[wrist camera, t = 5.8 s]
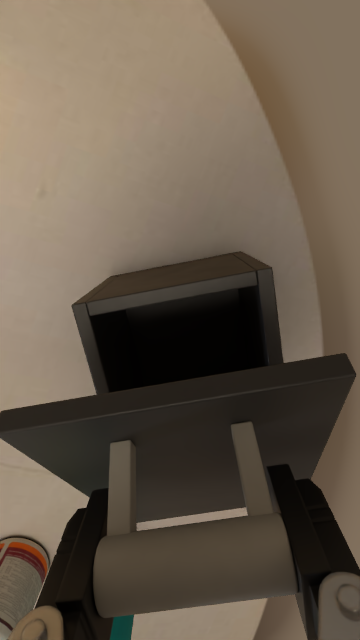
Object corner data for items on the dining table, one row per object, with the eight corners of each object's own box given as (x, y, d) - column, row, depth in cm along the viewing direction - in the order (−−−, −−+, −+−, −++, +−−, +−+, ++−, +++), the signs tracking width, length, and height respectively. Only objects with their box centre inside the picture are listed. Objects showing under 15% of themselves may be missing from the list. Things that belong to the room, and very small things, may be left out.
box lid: (-1, 409, 11) (-62, 636, 7) (346, 351, 10) (457, 571, 7) (128, 509, 22) (128, 619, 18) (298, 485, 21) (330, 594, 18)
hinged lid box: (109, 276, 28) (70, 304, 18) (241, 251, 27) (272, 267, 17) (146, 423, 31) (129, 511, 22) (263, 404, 30) (298, 486, 21)
